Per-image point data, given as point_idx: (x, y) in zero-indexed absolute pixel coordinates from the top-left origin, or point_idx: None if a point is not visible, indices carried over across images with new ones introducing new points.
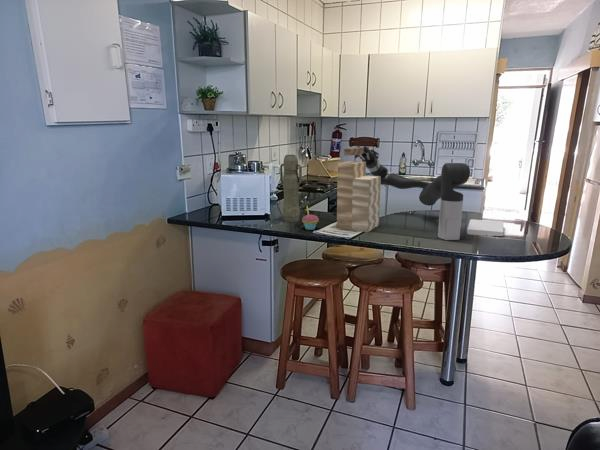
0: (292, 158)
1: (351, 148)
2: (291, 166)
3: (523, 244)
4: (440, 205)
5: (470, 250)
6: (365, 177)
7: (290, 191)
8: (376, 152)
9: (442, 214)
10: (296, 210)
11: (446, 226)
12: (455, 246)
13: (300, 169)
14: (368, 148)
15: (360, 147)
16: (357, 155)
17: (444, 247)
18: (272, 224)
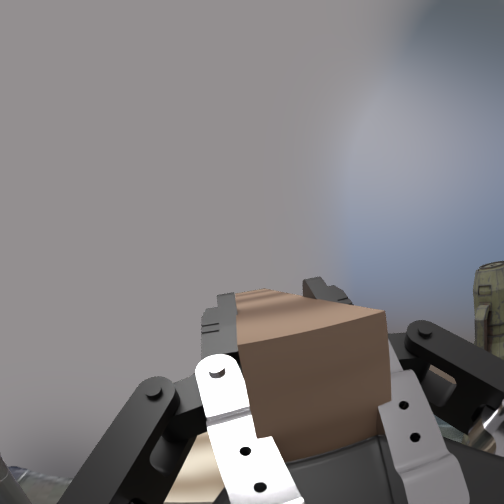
0: (474, 280)
1: (255, 292)
2: (474, 307)
3: None
4: (6, 472)
5: (27, 480)
6: (203, 449)
7: None
8: (89, 463)
9: (16, 482)
10: (464, 443)
11: (25, 494)
12: (38, 493)
13: (475, 327)
14: (244, 376)
15: (269, 301)
16: (477, 423)
17: (56, 489)
18: (453, 427)
